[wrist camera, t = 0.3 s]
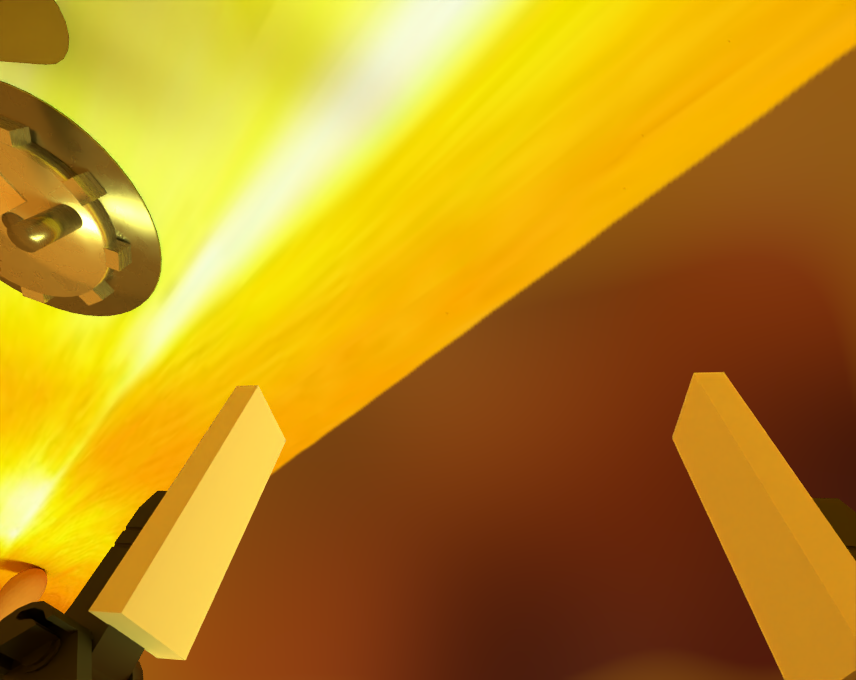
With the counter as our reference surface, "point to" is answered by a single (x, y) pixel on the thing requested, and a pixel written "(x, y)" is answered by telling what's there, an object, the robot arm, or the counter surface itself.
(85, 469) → the counter surface
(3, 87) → the plate
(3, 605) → the egg
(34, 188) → the sprocket
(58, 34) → the pepper mill
